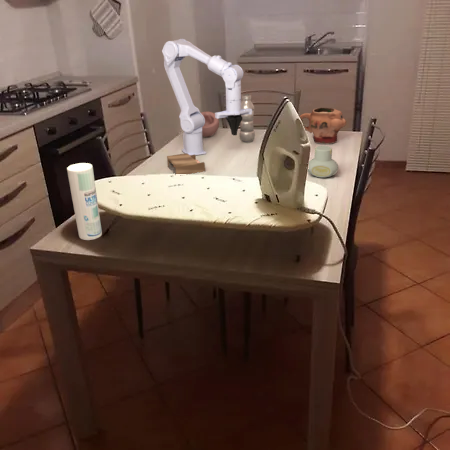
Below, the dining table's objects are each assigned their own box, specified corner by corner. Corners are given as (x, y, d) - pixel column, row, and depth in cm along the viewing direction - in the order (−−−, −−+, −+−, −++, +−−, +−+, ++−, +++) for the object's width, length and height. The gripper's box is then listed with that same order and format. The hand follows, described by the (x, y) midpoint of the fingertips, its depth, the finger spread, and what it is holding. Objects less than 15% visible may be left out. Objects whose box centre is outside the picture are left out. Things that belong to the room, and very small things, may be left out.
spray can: (91, 242, 136) (79, 172, 128) (73, 237, 139) (61, 168, 131) (107, 232, 141) (97, 164, 133) (89, 228, 144) (79, 161, 136)
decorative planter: (296, 144, 213) (297, 112, 207) (298, 137, 223) (299, 105, 217) (344, 146, 209) (347, 113, 203) (344, 138, 220) (347, 106, 214)
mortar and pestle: (190, 139, 224) (189, 114, 219) (196, 132, 235) (195, 108, 230) (217, 140, 222) (216, 114, 217) (221, 133, 233) (220, 108, 228)
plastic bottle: (255, 143, 216) (255, 96, 208) (239, 143, 217) (238, 96, 208) (254, 139, 222) (254, 93, 214) (239, 139, 222) (238, 93, 214)
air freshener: (338, 172, 181) (340, 145, 177) (336, 180, 174) (338, 152, 169) (308, 170, 184) (309, 143, 179) (305, 178, 176) (306, 150, 172)
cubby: (167, 166, 191) (166, 156, 190) (195, 162, 195) (194, 152, 193) (176, 176, 182) (175, 164, 180) (205, 171, 186) (204, 160, 184)
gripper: (219, 103, 183) (220, 139, 189) (255, 99, 188) (255, 134, 194) (212, 99, 189) (213, 135, 195) (247, 95, 194) (248, 130, 200)
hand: (234, 134), depth 195 cm, fingers closed
